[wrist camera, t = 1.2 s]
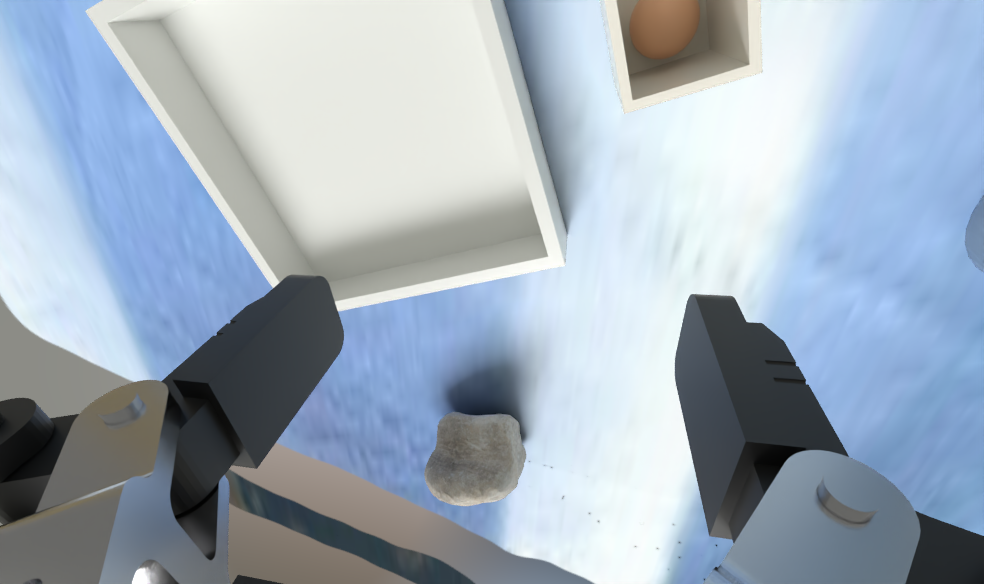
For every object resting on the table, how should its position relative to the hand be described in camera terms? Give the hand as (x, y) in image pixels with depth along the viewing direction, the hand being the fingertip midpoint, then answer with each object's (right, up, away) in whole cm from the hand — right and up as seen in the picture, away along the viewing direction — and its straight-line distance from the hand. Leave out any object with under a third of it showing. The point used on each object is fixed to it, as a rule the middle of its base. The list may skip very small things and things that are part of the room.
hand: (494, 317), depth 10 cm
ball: (+8, +13, +10) cm, 18 cm away
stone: (+4, -13, +30) cm, 33 cm away
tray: (-8, +11, +17) cm, 22 cm away
